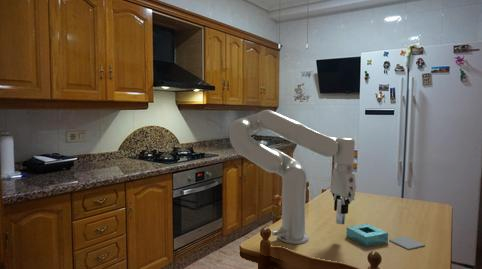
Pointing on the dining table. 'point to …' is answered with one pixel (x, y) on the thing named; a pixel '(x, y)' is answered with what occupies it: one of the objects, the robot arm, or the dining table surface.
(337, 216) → the steel key rod
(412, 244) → the grey rubber mat
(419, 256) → the dining table surface
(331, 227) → the dining table surface
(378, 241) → the teal socket block
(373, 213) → the dining table surface
